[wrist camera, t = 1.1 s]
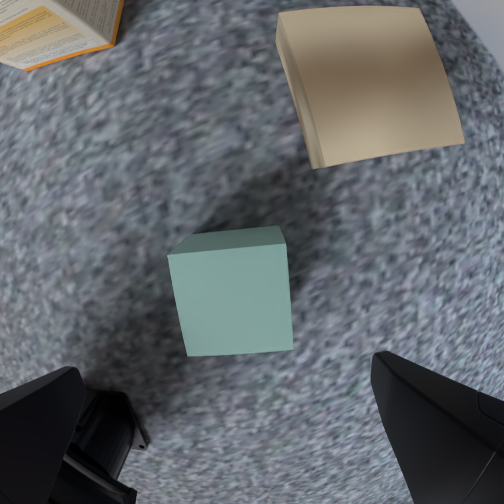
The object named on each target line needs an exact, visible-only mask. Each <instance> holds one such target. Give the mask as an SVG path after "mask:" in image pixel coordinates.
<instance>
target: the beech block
mask: <svg viewBox="0 0 504 504" xmlns="http://www.w3.org/2000/svg"><path fill="white" fill-rule="evenodd" d="M275 43H276V46H277V49H278V52H279V55H280V58H281V61H282V65H283V68H284V71H285V74H286V77H287V81H288V84H289V87H290V91H291V94H292V97H293V101H294V104H295V108H296V111H297V115H298V118H299V122H300V126H301V129H302V133H303V137H304V140H305V144H306V148H307V152H308V156H309V160H310V164H311V168H312V169H317V168H323V167H329V166H334V165H338V164H343V163H348V162H354V161H359V160H364V159H369V158H375V157H380V156H386V155H392V154H397V153H403V152H409V151H416V150H422V149H429V148H436V147H443V146H450V145H457V144H465V141H464V136H463V132H462V128H461V123H460V119H459V116H458V112H457V108H456V104H455V101H454V97H453V94H452V91H451V87H450V84H449V81H448V78H447V75H446V72H445V69H444V66H443V64H442V61H441V58H440V55H439V53H438V50H437V48H436V45H435V43H434V40H433V38H432V35H431V33H430V31H429V28H428V26H427V24H426V22H425V19H424V17H423V15H422V13H421V11H420V9H419V8H412V7H396V6H341V7H325V8H313V9H304V10H295V11H288V12H281V13H279V15H278V23H277V31H276V40H275Z"/></svg>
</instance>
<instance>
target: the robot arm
mask: <svg viewBox="0 0 504 504" xmlns="http://www.w3.org/2000/svg"><path fill="white" fill-rule="evenodd" d="M371 385H372V388H373V392H374V395H375V399H376V402H377V406H378V409H379V413H380V417H381V420H382V423H383V426H384V429H385V432H386V434H387V436H388V439H389V441H390V444H391V446H392V448H393V451H394V453H395V456H396V458H397V461H398V463H399V466H400V468H401V471H402V473H403V476H404V478H405V481H406V483H407V486H408V489H409V491H410V494H411V496H412V499H413V502H414V504H504V401H502V400H500V399H497V398H494V397H492V396H489V395H487V394H485V393H482V392H480V391H479V392H477V390H475V389H473V388H470V387H468V386H466V385H463V384H461V383H459V382H456V381H454V380H452V379H449V378H447V377H445V376H443V375H440V374H438V373H436V372H434V371H431V370H429V369H427V368H425V367H422V366H420V365H418V364H416V363H413V362H411V361H409V360H407V359H405V358H402V357H400V356H398V355H396V354H394V353H391V352H389V351H382V352H377V353H374V355H373V357H372V367H371ZM122 399H123V400H122ZM147 448H148V443H147V441H146V439H145V437H144V434H143V432H142V430H141V428H140V425H139V423H138V421H137V419H136V416H135V414H134V412H133V409H132V407H131V404H130V402H129V399H128V397H127V396H126V395H125V394H124V393H121V392H110V391H99V390H90V389H86V387H85V385H84V382H83V380H82V377H81V375H80V373H79V370H78V369H77V368H76V367H70V366H65V367H63V368H60V369H58V370H56V371H53V372H51V373H49V374H46V375H44V376H42V377H39V378H37V379H35V380H32V381H30V382H28V383H25V384H23V385H21V386H18V387H16V388H14V389H11V390H9V391H6V392H4V393H2V394H0V504H135V503H136V496H137V490H135V489H133V488H131V487H130V488H129V487H128V486H126V485H124V484H122V483H121V482H119V481H117V479H118V477H119V475H120V472H121V470H122V468H123V465H124V463H125V461H126V458H127V456H128V454H129V451H130V449H137V450H147Z"/></svg>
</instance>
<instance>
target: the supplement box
mask: <svg viewBox="0 0 504 504" xmlns="http://www.w3.org/2000/svg"><path fill="white" fill-rule="evenodd" d="M123 4H124V0H0V62H2V63H4V64H7V65H11V66H13V67H17V68H19V69H22V70H25V71H30V70H33V69H35V68H39V67H41V66H45V65H48V64H50V63H54V62H57V61H61V60H64V59H68V58H71V57H74V56H78V55H81V54H85V53H89V52H94V51H98V50H102V49H107V48H112V47H114V46H115V42H116V36H117V32H118V27H119V22H120V18H121V13H122V9H123Z"/></svg>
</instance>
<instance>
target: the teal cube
mask: <svg viewBox="0 0 504 504" xmlns="http://www.w3.org/2000/svg"><path fill="white" fill-rule="evenodd" d="M167 257H168V262H169V268H170V274H171V279H172V285H173V290H174V295H175V301H176V306H177V311H178V316H179V320H180V325H181V330H182V334H183V339H184V343H185V348H186V352H187V356H214V355H233V354H249V353H262V352H274V351H284V350H293V334H292V318H291V302H290V288H289V274H288V261H287V248H286V242H285V239H284V237H283V234H282V232H281V229H280V227H279V225H277V226H266V227H256V228H246V229H236V230H226V231H217V232H207V233H198V234H191V235H190V236H189V237H188V238H186V239H185V240H184V241H183V242H182V243H181V244H179V245H178V246H177V247H176V248H175V249H174V250H172V251H171V252H170V253H169V254H168V255H167Z"/></svg>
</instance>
